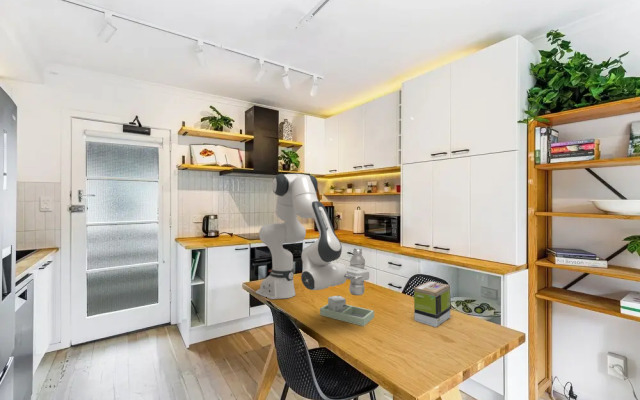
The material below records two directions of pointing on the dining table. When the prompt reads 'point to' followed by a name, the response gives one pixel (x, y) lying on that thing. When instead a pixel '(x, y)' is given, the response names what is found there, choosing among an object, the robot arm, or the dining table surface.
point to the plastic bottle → (357, 262)
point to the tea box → (432, 303)
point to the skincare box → (336, 303)
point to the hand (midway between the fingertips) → (358, 268)
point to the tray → (350, 314)
